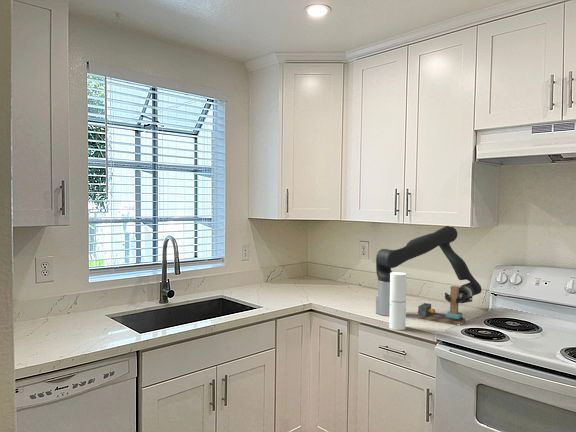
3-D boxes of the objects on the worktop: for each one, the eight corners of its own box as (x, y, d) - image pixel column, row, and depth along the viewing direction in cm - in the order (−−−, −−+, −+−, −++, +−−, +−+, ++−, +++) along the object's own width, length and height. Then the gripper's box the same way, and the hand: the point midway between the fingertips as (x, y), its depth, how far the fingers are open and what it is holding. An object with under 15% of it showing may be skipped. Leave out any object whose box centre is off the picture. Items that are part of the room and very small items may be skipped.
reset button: (427, 313, 212) (427, 308, 212) (429, 312, 214) (429, 307, 214) (433, 314, 210) (433, 309, 210) (435, 313, 212) (435, 308, 212)
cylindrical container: (398, 331, 190) (399, 275, 190) (385, 327, 196) (386, 273, 195) (408, 328, 195) (409, 273, 194) (396, 324, 200) (397, 271, 199)
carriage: (445, 316, 204) (446, 286, 204) (449, 313, 210) (450, 284, 209) (458, 318, 201) (459, 288, 200) (462, 315, 206) (463, 286, 206)
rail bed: (418, 318, 211) (418, 306, 211) (424, 314, 219) (424, 303, 218) (460, 325, 199) (460, 313, 199) (465, 321, 207) (465, 309, 206)
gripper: (448, 285, 221) (437, 290, 207) (477, 288, 212) (468, 294, 198) (448, 299, 221) (437, 306, 207) (477, 303, 213) (468, 310, 199)
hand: (452, 300), depth 203 cm, fingers closed on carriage, 3 cm apart
